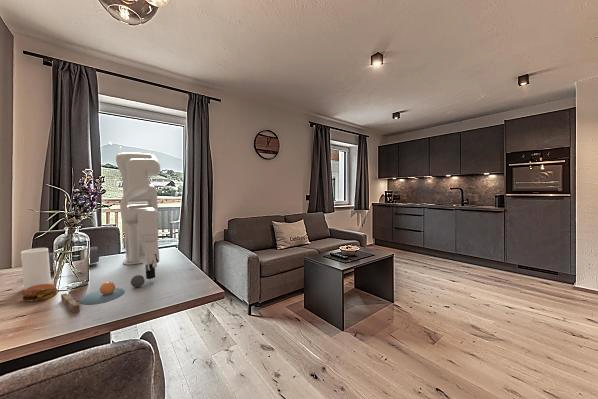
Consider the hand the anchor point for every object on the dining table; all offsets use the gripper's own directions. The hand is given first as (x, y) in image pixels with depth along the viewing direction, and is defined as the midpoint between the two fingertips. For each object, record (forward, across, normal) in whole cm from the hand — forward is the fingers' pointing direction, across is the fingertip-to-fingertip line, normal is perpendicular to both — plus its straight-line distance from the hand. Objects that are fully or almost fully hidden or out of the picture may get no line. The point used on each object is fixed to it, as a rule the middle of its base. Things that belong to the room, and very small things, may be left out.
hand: (150, 278), depth 118 cm
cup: (+2, -34, -31) cm, 46 cm away
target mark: (+2, 0, -18) cm, 18 cm away
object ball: (-1, 0, -16) cm, 16 cm away
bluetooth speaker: (+2, -52, -16) cm, 54 cm away
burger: (+2, -19, -33) cm, 38 cm away
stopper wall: (+2, 0, -28) cm, 28 cm away
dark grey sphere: (-1, +2, -6) cm, 6 cm away
